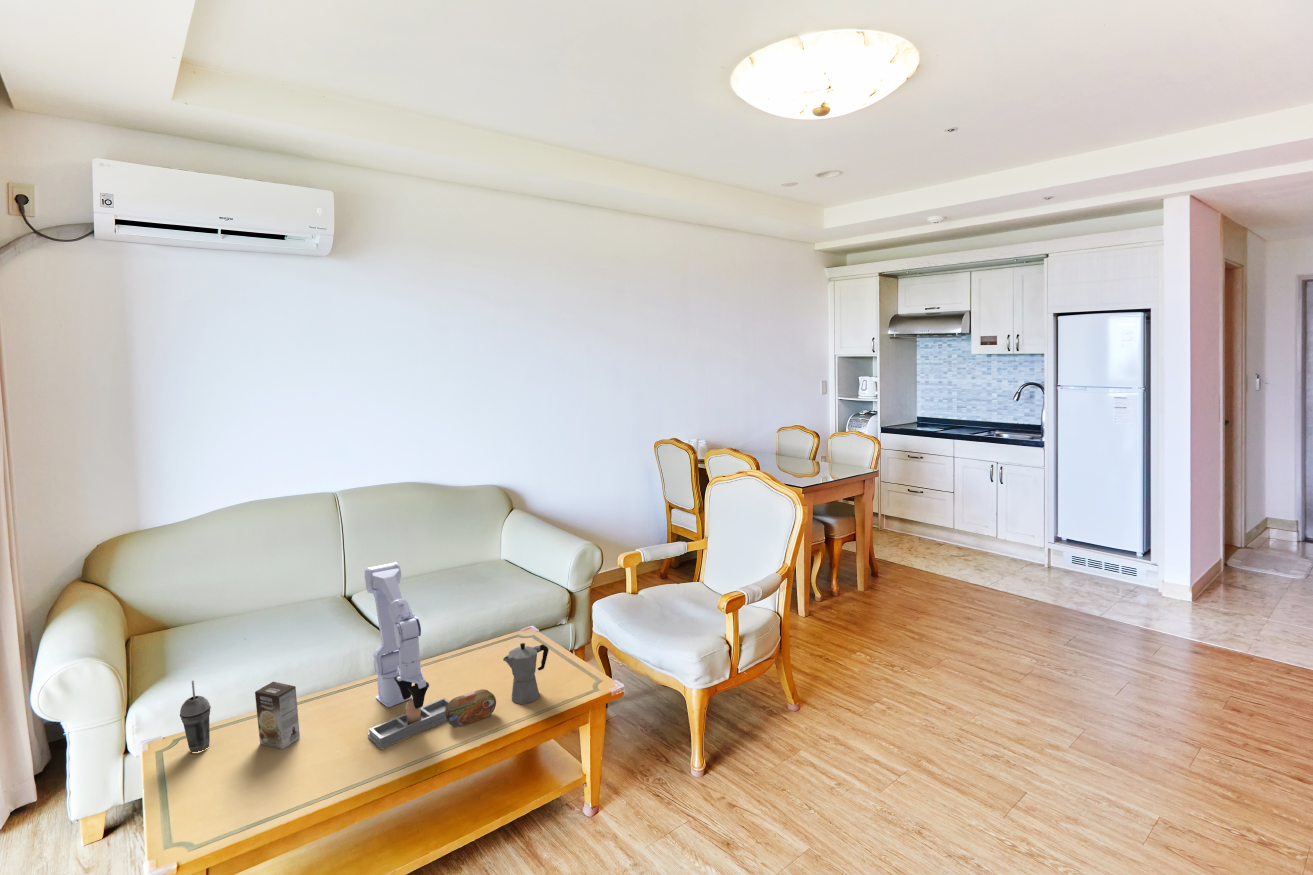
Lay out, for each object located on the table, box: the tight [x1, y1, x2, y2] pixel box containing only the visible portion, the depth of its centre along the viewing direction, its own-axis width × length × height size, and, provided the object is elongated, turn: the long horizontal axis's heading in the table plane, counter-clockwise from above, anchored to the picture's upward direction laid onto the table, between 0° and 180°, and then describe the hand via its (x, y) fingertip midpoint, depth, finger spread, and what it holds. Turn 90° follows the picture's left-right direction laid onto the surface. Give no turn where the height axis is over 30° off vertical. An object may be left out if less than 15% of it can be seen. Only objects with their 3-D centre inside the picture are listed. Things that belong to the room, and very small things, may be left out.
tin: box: [445, 688, 497, 728], centre depth 200 cm, size 15×3×8 cm, turn 123°
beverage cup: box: [179, 680, 212, 752], centre depth 188 cm, size 7×7×20 cm
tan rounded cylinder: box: [405, 698, 421, 725], centre depth 197 cm, size 4×4×7 cm
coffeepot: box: [502, 642, 550, 705], centre depth 213 cm, size 15×9×18 cm, turn 125°
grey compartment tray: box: [367, 697, 451, 750], centre depth 198 cm, size 9×24×3 cm, turn 136°
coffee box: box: [254, 681, 301, 750], centre depth 191 cm, size 9×6×16 cm
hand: (412, 702), depth 197 cm, fingers open, 7 cm apart
